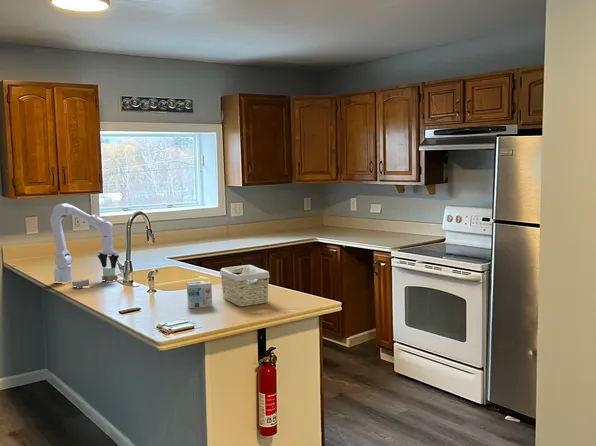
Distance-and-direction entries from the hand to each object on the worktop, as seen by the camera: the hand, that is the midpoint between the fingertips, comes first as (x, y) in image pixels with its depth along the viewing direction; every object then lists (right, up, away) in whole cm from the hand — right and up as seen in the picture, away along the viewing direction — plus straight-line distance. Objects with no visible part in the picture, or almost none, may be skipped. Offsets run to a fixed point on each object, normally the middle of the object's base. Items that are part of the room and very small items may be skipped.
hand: (108, 267), depth 324 cm
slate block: (-10, -9, -14) cm, 19 cm away
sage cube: (0, -5, 0) cm, 5 cm away
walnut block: (0, -8, +1) cm, 8 cm away
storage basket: (+80, -11, -54) cm, 98 cm away
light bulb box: (+61, -13, -62) cm, 88 cm away
